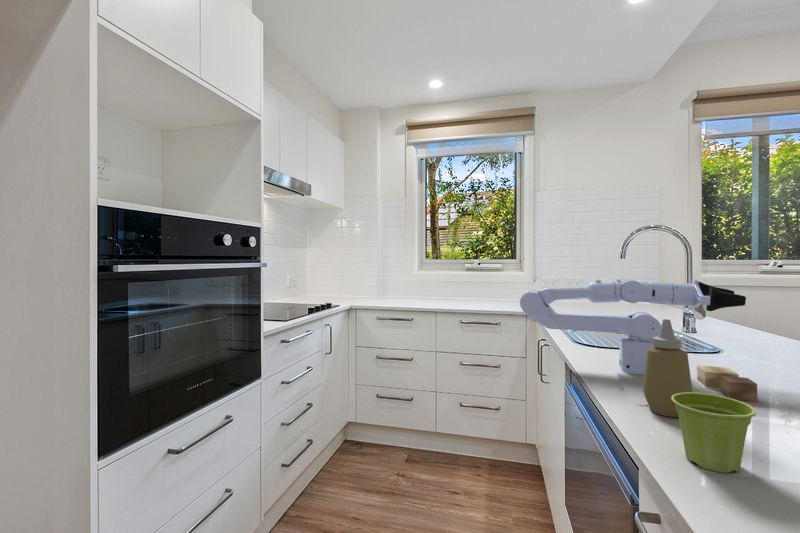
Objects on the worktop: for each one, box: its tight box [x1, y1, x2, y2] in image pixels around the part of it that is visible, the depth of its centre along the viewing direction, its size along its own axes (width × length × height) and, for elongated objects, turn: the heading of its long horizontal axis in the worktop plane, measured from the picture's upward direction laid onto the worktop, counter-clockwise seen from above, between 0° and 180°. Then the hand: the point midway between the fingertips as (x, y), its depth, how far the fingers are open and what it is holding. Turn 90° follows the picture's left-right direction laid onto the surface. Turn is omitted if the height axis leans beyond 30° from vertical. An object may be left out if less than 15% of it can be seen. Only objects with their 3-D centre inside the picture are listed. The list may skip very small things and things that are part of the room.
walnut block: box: [720, 376, 758, 404], centre depth 80 cm, size 4×4×4 cm
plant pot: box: [671, 392, 757, 474], centre depth 55 cm, size 9×9×9 cm
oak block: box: [696, 365, 740, 390], centre depth 88 cm, size 6×6×4 cm
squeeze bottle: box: [642, 318, 694, 418], centre depth 74 cm, size 8×8×18 cm
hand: (739, 297), depth 93 cm, fingers open, 7 cm apart
